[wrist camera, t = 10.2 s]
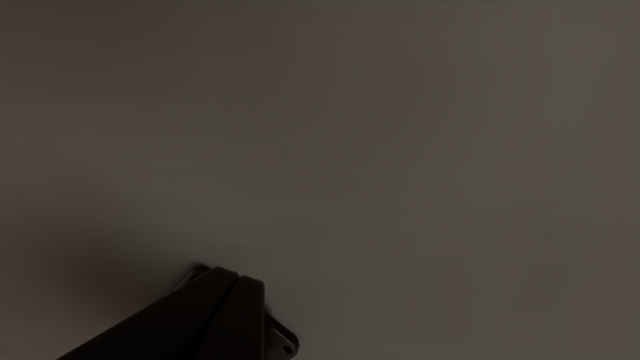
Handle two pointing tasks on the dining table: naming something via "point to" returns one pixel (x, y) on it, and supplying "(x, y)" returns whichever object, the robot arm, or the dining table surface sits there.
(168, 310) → the robot arm
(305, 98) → the dining table surface
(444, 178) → the dining table surface
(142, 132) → the dining table surface
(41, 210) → the dining table surface
